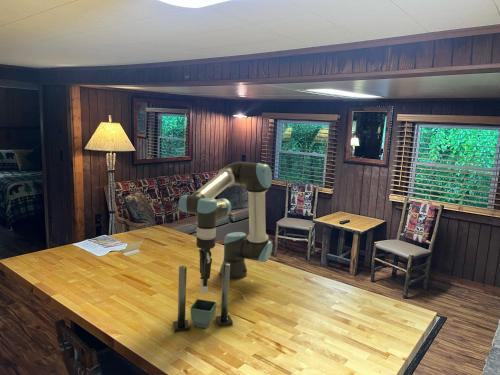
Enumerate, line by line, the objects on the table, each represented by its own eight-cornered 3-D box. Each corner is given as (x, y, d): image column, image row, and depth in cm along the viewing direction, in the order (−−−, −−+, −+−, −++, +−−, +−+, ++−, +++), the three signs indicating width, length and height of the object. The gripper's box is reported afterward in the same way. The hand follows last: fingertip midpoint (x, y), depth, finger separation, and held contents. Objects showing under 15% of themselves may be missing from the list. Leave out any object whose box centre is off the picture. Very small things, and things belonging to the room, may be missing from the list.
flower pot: (209, 332, 156) (210, 311, 155) (189, 328, 158) (189, 308, 156) (216, 321, 165) (217, 301, 163) (196, 318, 166) (197, 298, 165)
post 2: (228, 318, 168) (231, 260, 164) (232, 325, 162) (235, 266, 158) (215, 319, 166) (217, 261, 162) (218, 326, 160) (221, 267, 156)
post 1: (187, 323, 162) (189, 264, 158) (189, 330, 156) (191, 269, 152) (172, 324, 160) (174, 265, 156) (174, 332, 154) (176, 270, 150)
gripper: (193, 232, 160) (192, 286, 164) (200, 242, 147) (198, 300, 151) (211, 232, 162) (209, 285, 166) (219, 241, 150) (216, 298, 154)
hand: (204, 292), depth 159 cm, fingers closed
